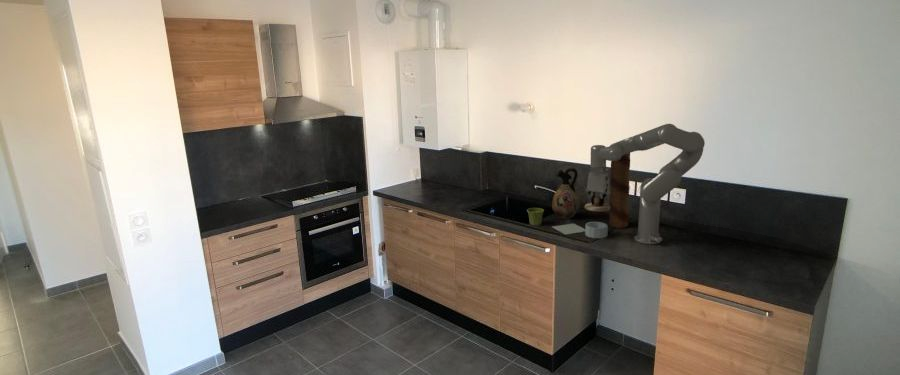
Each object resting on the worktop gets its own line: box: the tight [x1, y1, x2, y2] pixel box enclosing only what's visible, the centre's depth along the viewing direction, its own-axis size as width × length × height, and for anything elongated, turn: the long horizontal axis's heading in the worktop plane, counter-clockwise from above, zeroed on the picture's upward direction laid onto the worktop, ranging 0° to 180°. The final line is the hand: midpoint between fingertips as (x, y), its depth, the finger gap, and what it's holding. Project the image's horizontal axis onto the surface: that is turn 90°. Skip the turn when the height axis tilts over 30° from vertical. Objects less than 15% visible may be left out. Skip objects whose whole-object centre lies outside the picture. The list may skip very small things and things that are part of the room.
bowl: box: [584, 221, 609, 239], centre depth 257 cm, size 11×11×6 cm
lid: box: [584, 196, 610, 213], centre depth 254 cm, size 12×12×6 cm
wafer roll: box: [608, 153, 631, 229], centre depth 269 cm, size 10×11×45 cm
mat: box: [552, 223, 585, 235], centre depth 268 cm, size 14×14×1 cm
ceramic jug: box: [551, 167, 580, 219], centre depth 288 cm, size 17×15×30 cm
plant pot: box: [526, 207, 545, 226], centre depth 279 cm, size 9×9×9 cm
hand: (597, 204), depth 254 cm, fingers closed on lid, 3 cm apart
